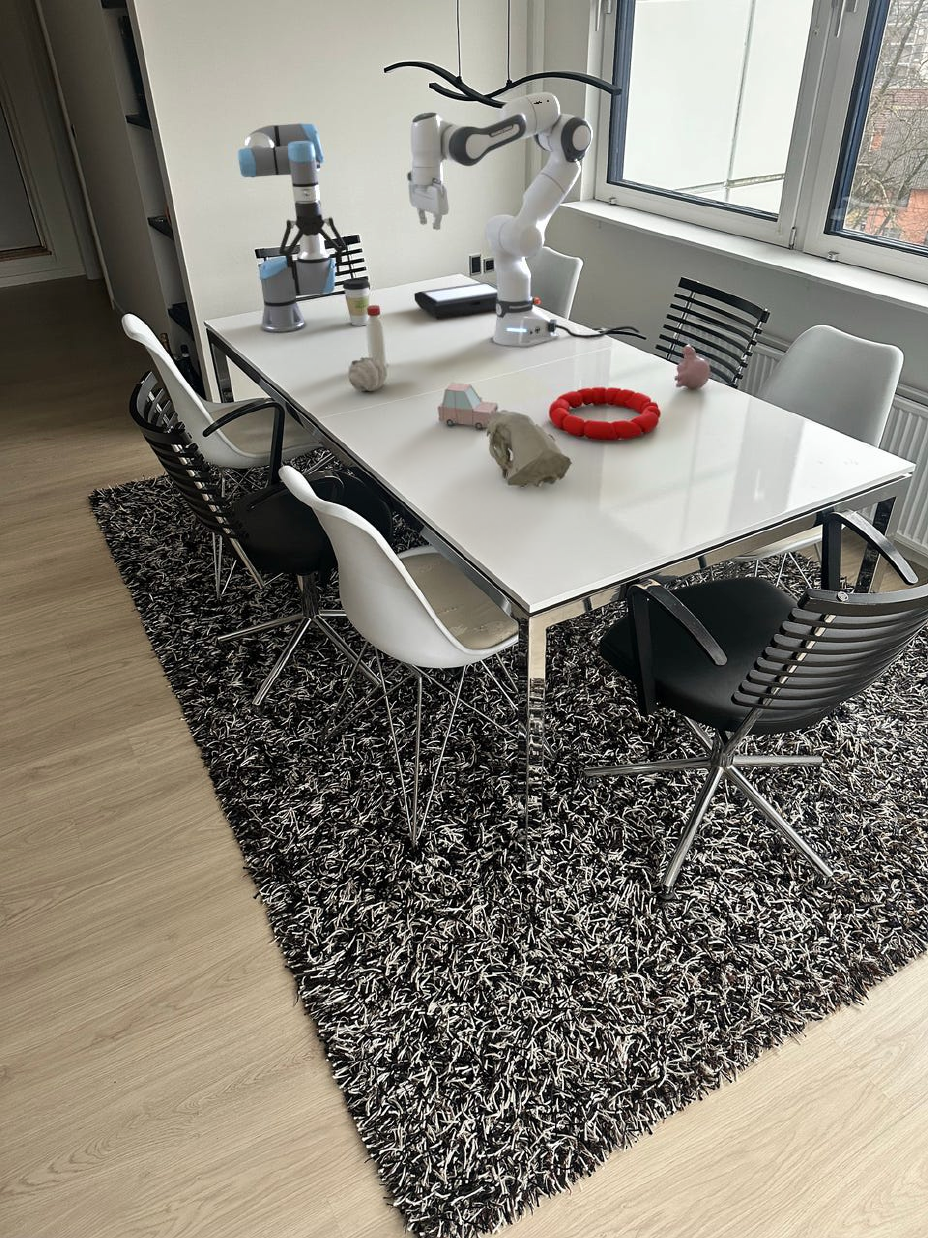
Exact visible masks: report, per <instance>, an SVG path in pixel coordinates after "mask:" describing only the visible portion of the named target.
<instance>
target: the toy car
mask: <svg viewBox="0 0 928 1238" xmlns="http://www.w3.org/2000/svg"><path fill="white" fill-rule="evenodd" d="M498 409H499V404H498V403H497V402H490V401H489V402H487V401H483V397H481V396H480V395H479V394H478V393H477V391H476V390H475V389H474V386H472V384H469V383H459V382H451V383H450V384H449V385H448V386H447V387H446V388H445V389H444V394H443V399H442V403H440V404H439V405H438V406H437V413H438V421H439V422H443V423H446V425H447V426H448V427H452V426H454V425H455V424H461V425H469V426H473V427H475V429H476V430H479V431H480V430H481V429H483V428H485V427H486V428H487V423H488V422H490V414H491V413H492V412H496V411H499V410H498Z"/></svg>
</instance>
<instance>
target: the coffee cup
mask: <svg viewBox="0 0 928 1238" xmlns="http://www.w3.org/2000/svg"><path fill="white" fill-rule="evenodd" d="M370 287H371V283H370V282H369V279H367V278H365V277H351V278H347V279H345V280H344V281H343V285H342V288H343V290H344V297H345V301H346V305H347V310H348V314H349V318H350V323H351V325H353V326H357V327H359V326H366V322H367V321H368V319H369V318H370V316H369V315H368V313H367V307H368V306H370Z"/></svg>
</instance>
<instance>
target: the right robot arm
mask: <svg viewBox="0 0 928 1238" xmlns="http://www.w3.org/2000/svg"><path fill="white" fill-rule="evenodd" d="M547 100H549V102H547ZM539 101H540V102H542V103H539V104H534V103H536V102H539ZM531 137H533V139H534V141H535V144H536V145H537V146H538V147H539V148H540V149H542V150H544V151H547V152H550V155H549V158H548V161H547V163H546V165H545V166H544V167H543V168H542V169H541V170H540V172H539V173H538V174H537V176H536V177H535V178H534V179H533V181H532V182H531V183H530V185H529V186H528V187H527V189H526V190H525V191H524V193H523V197H522V200H523V204H522V207H521V209H520V210H519V212H518V213H517V215H515V216H513V215H511V214H505V213H504V214H497V215H493V216H492V217H491V218H489V220H488V221H487V223H486V224H485V228H484V235H485V239H486V241H487V243H488V244H489V246H490V249H491V253H492V257H493V262H494V267H495V272H496V273H495V274H496V286H497V297H496V310H495V314H496V320H495V327H494V333H493V337H492V341H493V342H494V343H495V344H498V345H502V346H511V347H522V348H527V347H531V346H535V345H537V344H541V343H545V342H548V341H552V340H555V339H558V333H557V331H556V330H557V329H560V330H563V331H565V332H566V333H567V334H568V335H569V336H572V337H574V338H575V337H576V338H583V339H592V338H599V337H600V338H601V337H603V336H605V335H606V334H607V333H609V332H616V331H620V330H632V331H633V332H635V333H637V334H639V333H640V330H639V329H638V328H637V327H634V326H631V325H621V326H617V327H610V328H608V329H605V330H603V331H602V332H600V333H593V334H579V333H574V332H572V331H571V330H570V329H569V328H568V327H566V326H564V325H559V324H557V319H550V318H549V317H548V316H547V315H546V314H544V313H543V312H542V311H541V310H539V309H538V308H537V307H536V306H539V305H540V304H541V299H540V298H538V297H534V296H531V271H530V269H529V267H528V265H527V263H526V260H525V259H528V258H534V257H535V256H537V255H539V254H540V252H541V251H542V250H543V247H544V244H545V230H546V228H547V226H548V223H549V221H550V219H551V218H552V216H553V214H554V213H555V211H556V210H557V209H558V207H559V206H560V205H561V203H563V201H564V200H565V198H566V197H567V195H568V194H569V193H570V191H571V189H572V188H573V186H574V185H575V183H576V181H577V179H578V177H579V175H580V173H581V165H580V161H581V160H583V159H584V157H585V155H586V153H587V152H588V150H589V149H590V146H591V143H592V142H593V141H592V140H593V128H592V126H591V124H590V123H589V122H588V120H586V119H584V118H582V117H580V116H575V115H572V114H568V113H561V108H560V103H559V101H558V99H557V97H556V96H555V94H553V93H552V92H549V91H541V92H534V93H529V94H526V95H521V96H519V97H517V98H514V99H512V100H511V101H508V102H507V103H505V104H504V105H502V107H501V108H500V112H499V117H498V121H496V122H493V123H491V124H489V125H486V126H483V127H477V126H471V125H470V126H468V125H460V124H455V123H453V122H450V121H447V120H446V119H444V118H442V117H441V116H440V115H439V114H438V113H436V112H424V113H420V114H418V115H416V116H415V117H414V118H413V119H412V120H411V125H410V151H411V153H412V163H411V166H412V167H411V170H410V171H408V172H407V173H406V180H407V181H408V186H407V187H408V195H409V196H408V197H409V202H410V205H411V207H414V208H416V211H417V212H416V213H417V215H418V218H419V223H420V225H423V226H424V225H427V224H428V218H427V215H426V212H427V213H429V214H433V218H434V220H433V222H432V229H433V230H435V231H439V230H441V223H442V219H443V216H446V215H448V214H449V211H450V207H449V197H448V191H447V188H446V186H445V185H444V177H443V174H444V173H443V161H449V162H452V163H457V164H459V165H462V166H465V167H472V166H475V165H477V164H478V163H479V162H480V161H482V160H483V159H484V157H485V156H486V155H488V154H489V153H490V152H492V151H494V150H497V149H499V148H501V147H504V146H506V145H508V144H511V143H513V142H517V141H521V140H525V139H528V138H531Z"/></svg>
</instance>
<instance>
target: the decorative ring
mask: <svg viewBox="0 0 928 1238" xmlns="http://www.w3.org/2000/svg"><path fill="white" fill-rule="evenodd" d="M583 405H584V406H586V407H587V406H591V405H593V406H604V405H608V406H614V407H619V408H624V409H628V410H632V411H635V412H636V413H638V414H639V415H637V416H635V417H632V418H631V419H630V420H625V419H624V420H623V419H622V420H614V421H611V422H609V421H607V420H606V421H605V420H593V419H587V420H586V421H585V419H584V418H582V417H579V416H577V415H573V414H571V413H570V410H571V409H579V408H581V407H582V406H583ZM548 416H549V419H550V422H551V423H552V425H553V426H554V427H555V428H556V429H558V430H559V431H561V432H563V433H567V434H568V435H569V436H573V437H576V438H580V439H582V438H583V437H585V438H586V439H587V440H591V441H601V442H602V441H603V442H608V441H609V442H610V441H611V442H612V441H615V442H616V441H618V440H630V439H634V438H638V437H641V436H642V434H647V433H650V432H651V431H653V430H654V429H655V428H656V427H657V426H658V424H659V422H660V421H659V420H660V417H661V410H660V408H659V405H658V403H657V402H656V401H652V399H651V397H649V396H648V395H646V394H644V393H642V392H635V391H634V390H632V389H628V388H624V389H622V388H620V387H613V386H612V387H611V386H610V387H608V388H606V387H604V386H594V387H585V388H584V387H583V388H580V389H578V390H571V391H568V392H565V393H563V394H561V395H560V396H558V397H557V398H556V400H554V401H552V403H551V404H550V407H549V409H548Z"/></svg>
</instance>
